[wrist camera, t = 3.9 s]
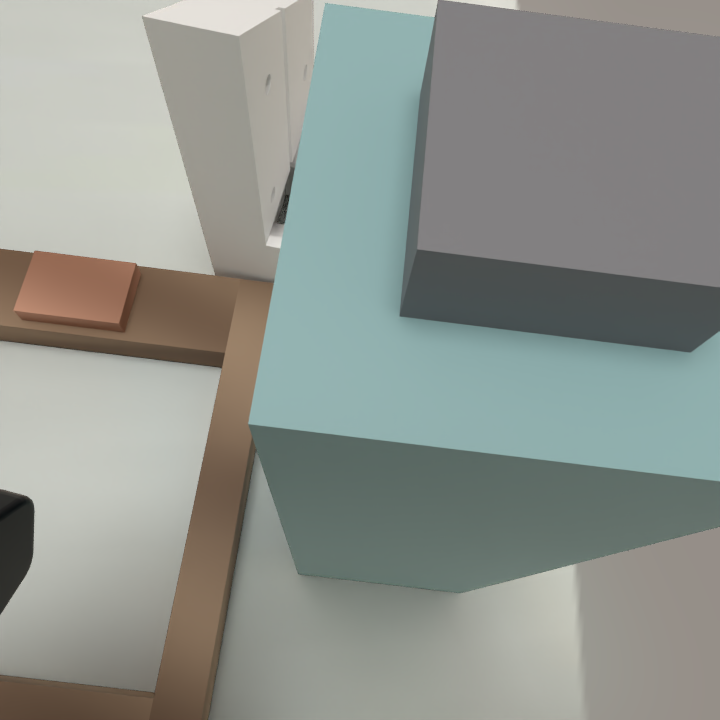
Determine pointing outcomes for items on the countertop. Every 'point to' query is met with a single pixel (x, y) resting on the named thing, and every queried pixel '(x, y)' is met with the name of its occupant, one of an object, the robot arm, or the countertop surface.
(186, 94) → the white wedge bracket
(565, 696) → the countertop surface
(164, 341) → the socket board
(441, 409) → the teal tall rectangular block
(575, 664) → the countertop surface
